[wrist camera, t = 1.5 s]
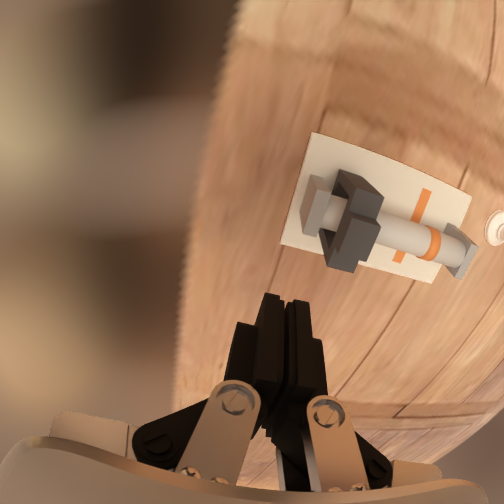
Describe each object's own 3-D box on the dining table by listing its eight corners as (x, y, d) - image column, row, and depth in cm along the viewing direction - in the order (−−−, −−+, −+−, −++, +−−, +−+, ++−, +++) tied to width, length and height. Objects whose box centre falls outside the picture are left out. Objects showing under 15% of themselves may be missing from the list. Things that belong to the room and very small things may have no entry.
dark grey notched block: (318, 232, 29) (329, 275, 22) (339, 168, 26) (361, 193, 19) (339, 238, 29) (356, 282, 22) (362, 176, 26) (390, 203, 19)
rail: (280, 239, 32) (279, 272, 26) (311, 131, 26) (320, 137, 20) (428, 279, 32) (449, 311, 26) (467, 194, 26) (499, 215, 20)
